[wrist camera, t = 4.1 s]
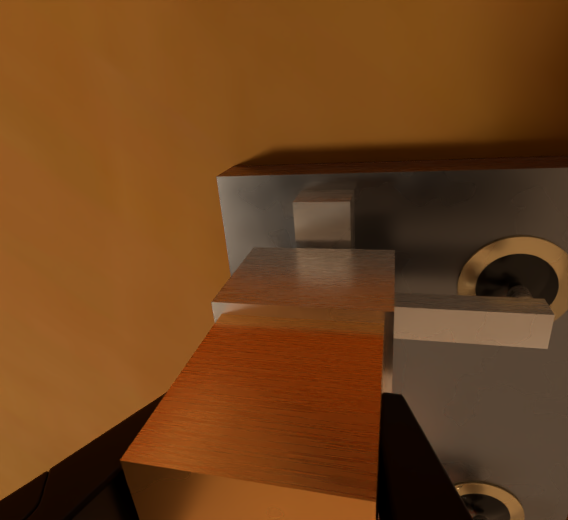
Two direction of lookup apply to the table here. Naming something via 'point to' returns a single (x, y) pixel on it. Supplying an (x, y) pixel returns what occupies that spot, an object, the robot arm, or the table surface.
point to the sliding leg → (300, 387)
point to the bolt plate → (449, 281)
